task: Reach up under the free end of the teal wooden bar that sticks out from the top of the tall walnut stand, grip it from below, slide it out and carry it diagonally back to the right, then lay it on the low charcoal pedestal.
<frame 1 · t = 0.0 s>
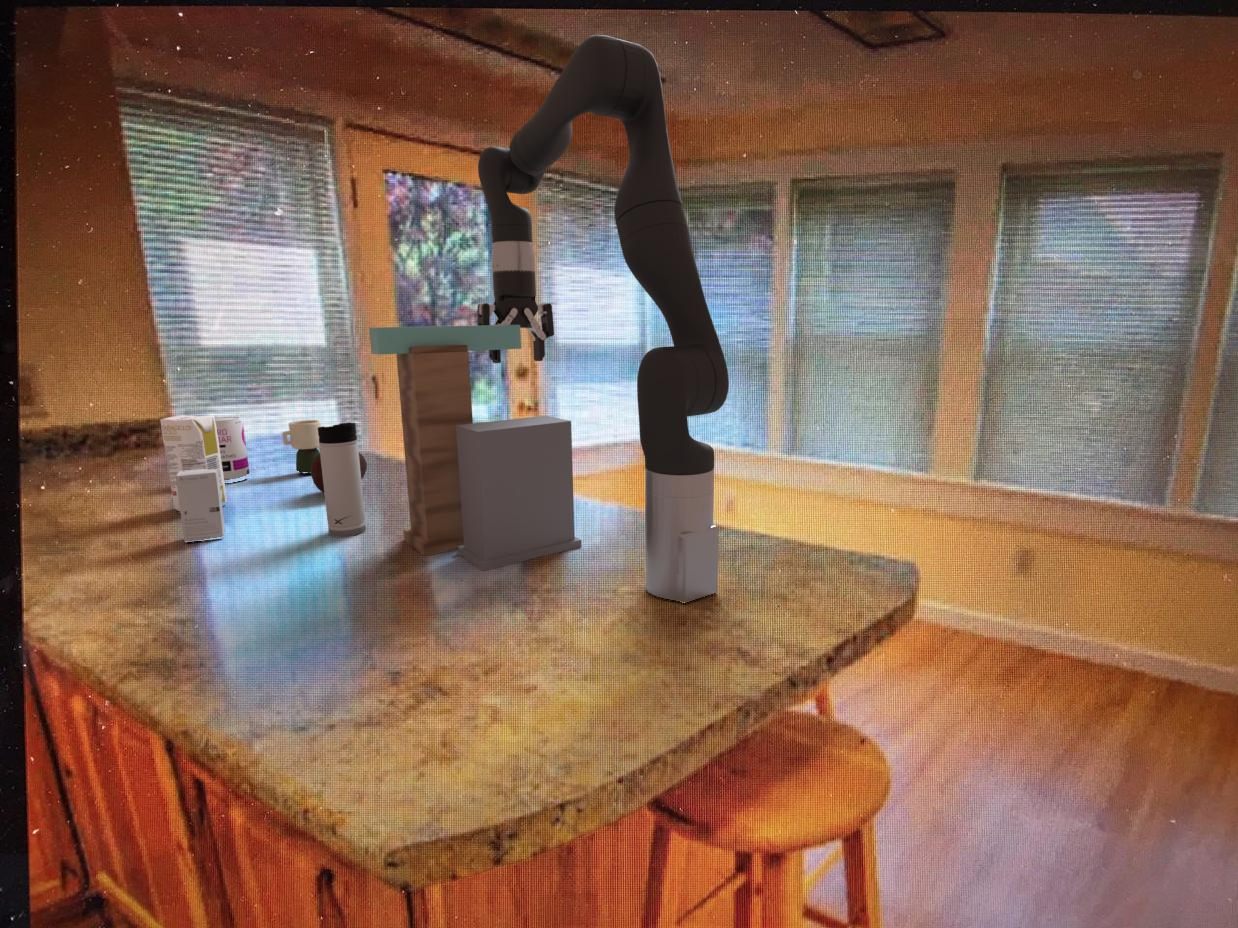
hand: (518, 362, 123), 29 cm above the countertop, tool pointing down, fingers open, 8 cm apart
supplement can: (231, 481, 162), on the countertop
travel mug: (348, 532, 121), on the countertop
skincare box: (206, 539, 118), on the countertop
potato: (340, 494, 148), on the countertop
charcoal pedestal: (520, 550, 110), on the countertop
juice carton: (201, 509, 137), on the countertop
walnut stand: (445, 541, 115), on the countertop
character mug: (310, 474, 168), on the countertop
teal bar: (449, 351, 110), point 32 cm above the countertop, touching walnut stand
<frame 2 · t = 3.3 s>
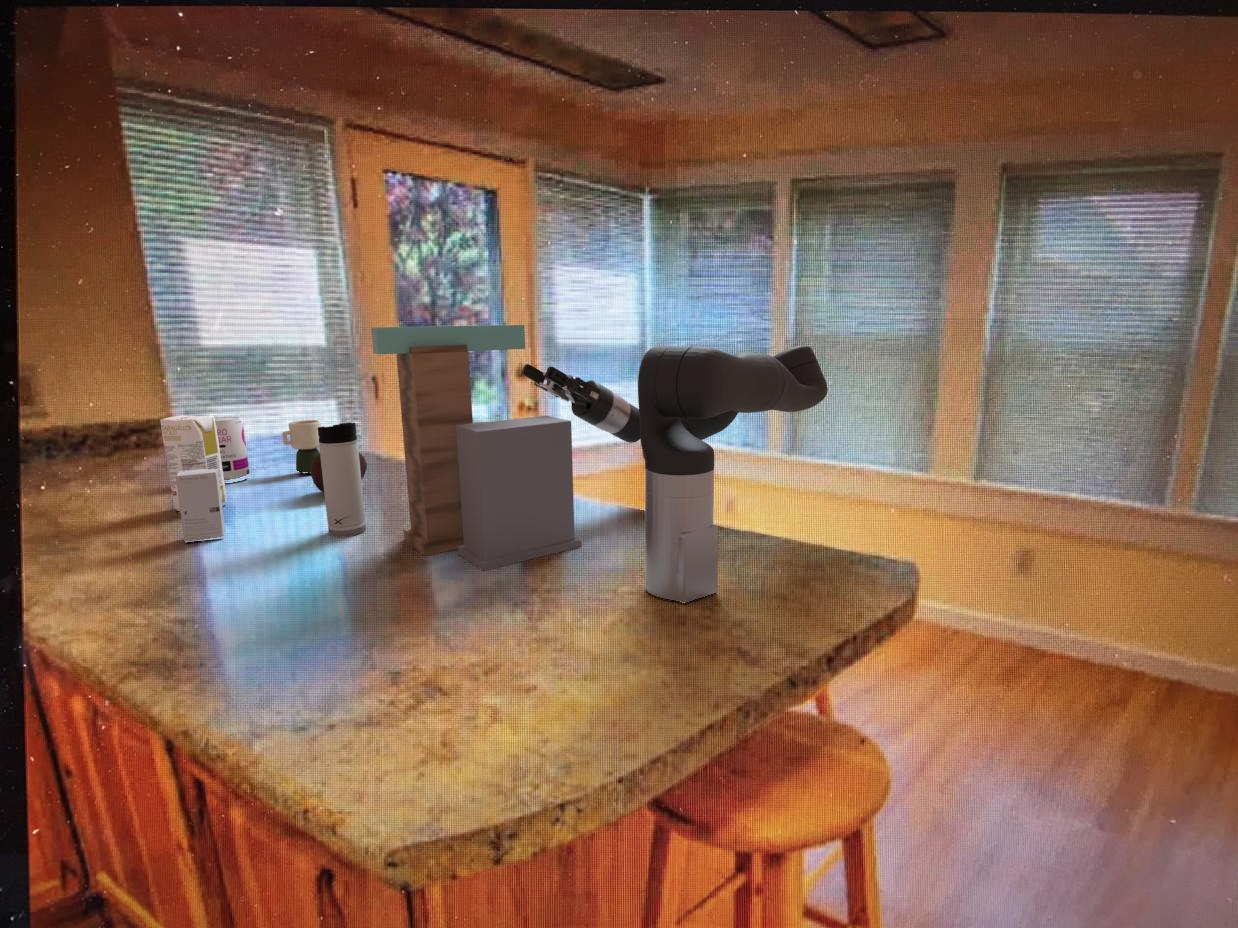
hand: (535, 369, 119), 28 cm above the countertop, tool pointing upward, fingers open, 8 cm apart
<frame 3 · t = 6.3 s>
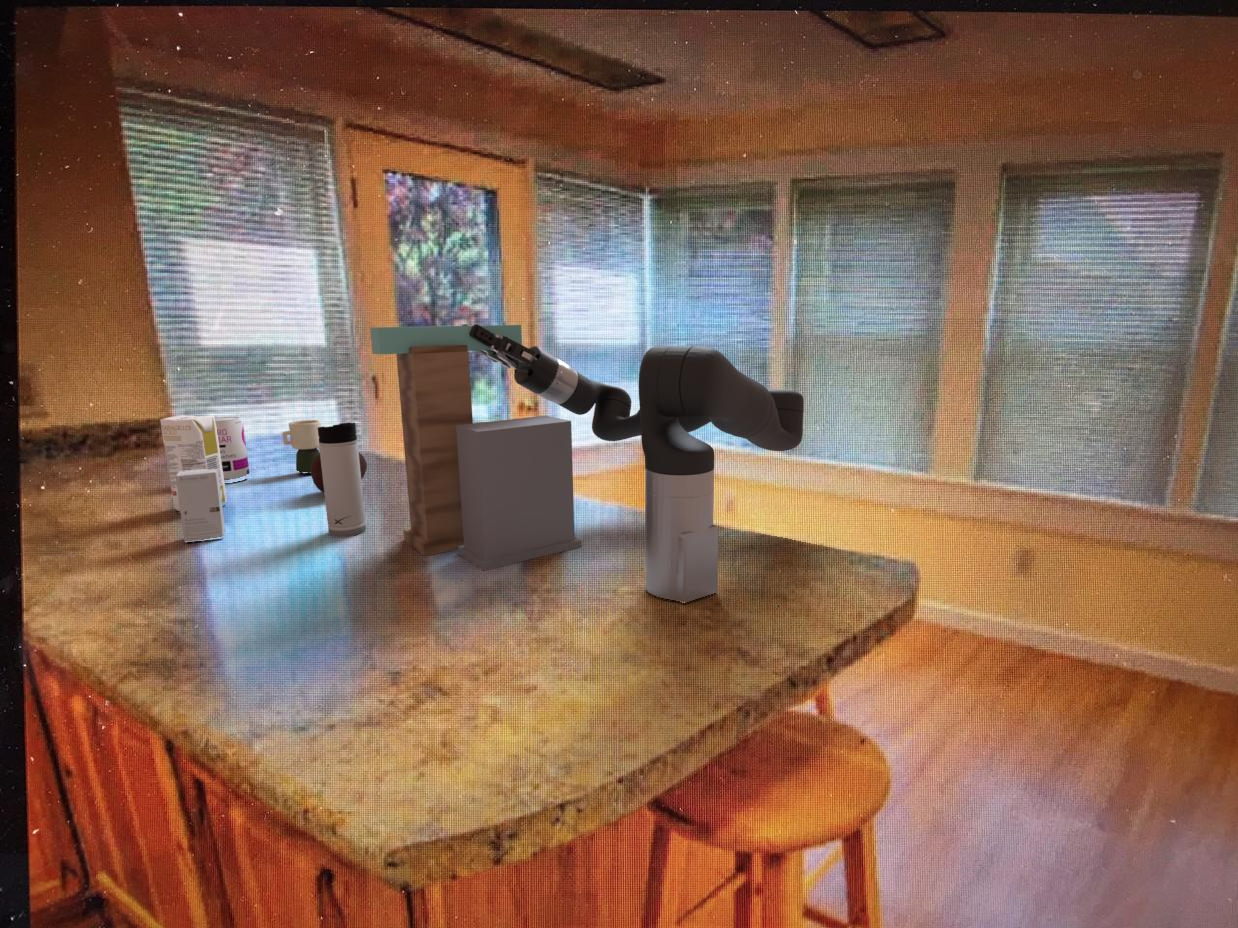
hand: (466, 329, 111), 35 cm above the countertop, tool pointing upward, fingers closed on teal bar, 4 cm apart
teal bar: (450, 351, 110), point 32 cm above the countertop, touching gripper
everything else where it was.
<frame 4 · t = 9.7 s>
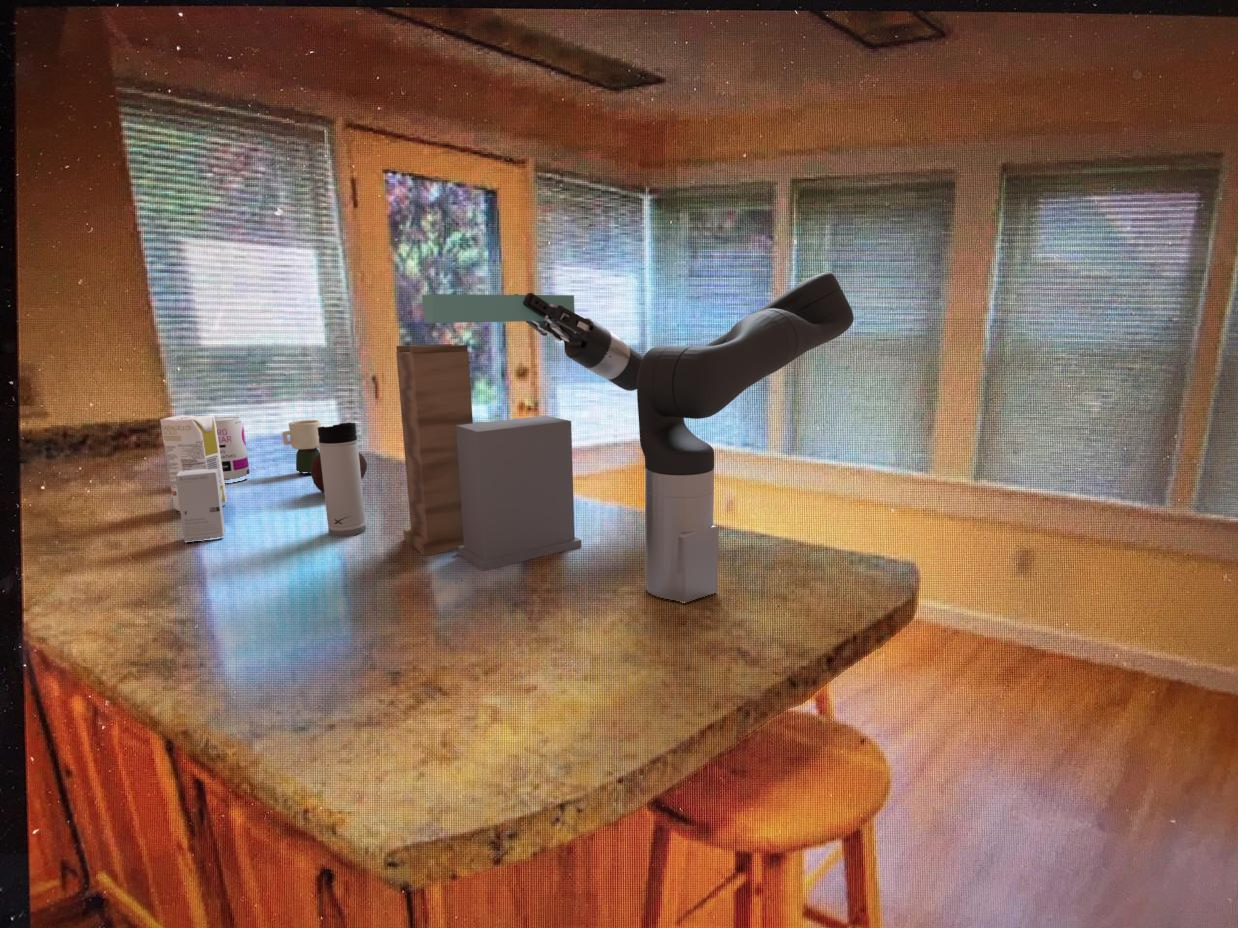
hand: (519, 298, 106), 40 cm above the countertop, tool pointing upward, fingers closed on teal bar, 4 cm apart
teal bar: (503, 321, 105), point 37 cm above the countertop, touching gripper
everything else where it was.
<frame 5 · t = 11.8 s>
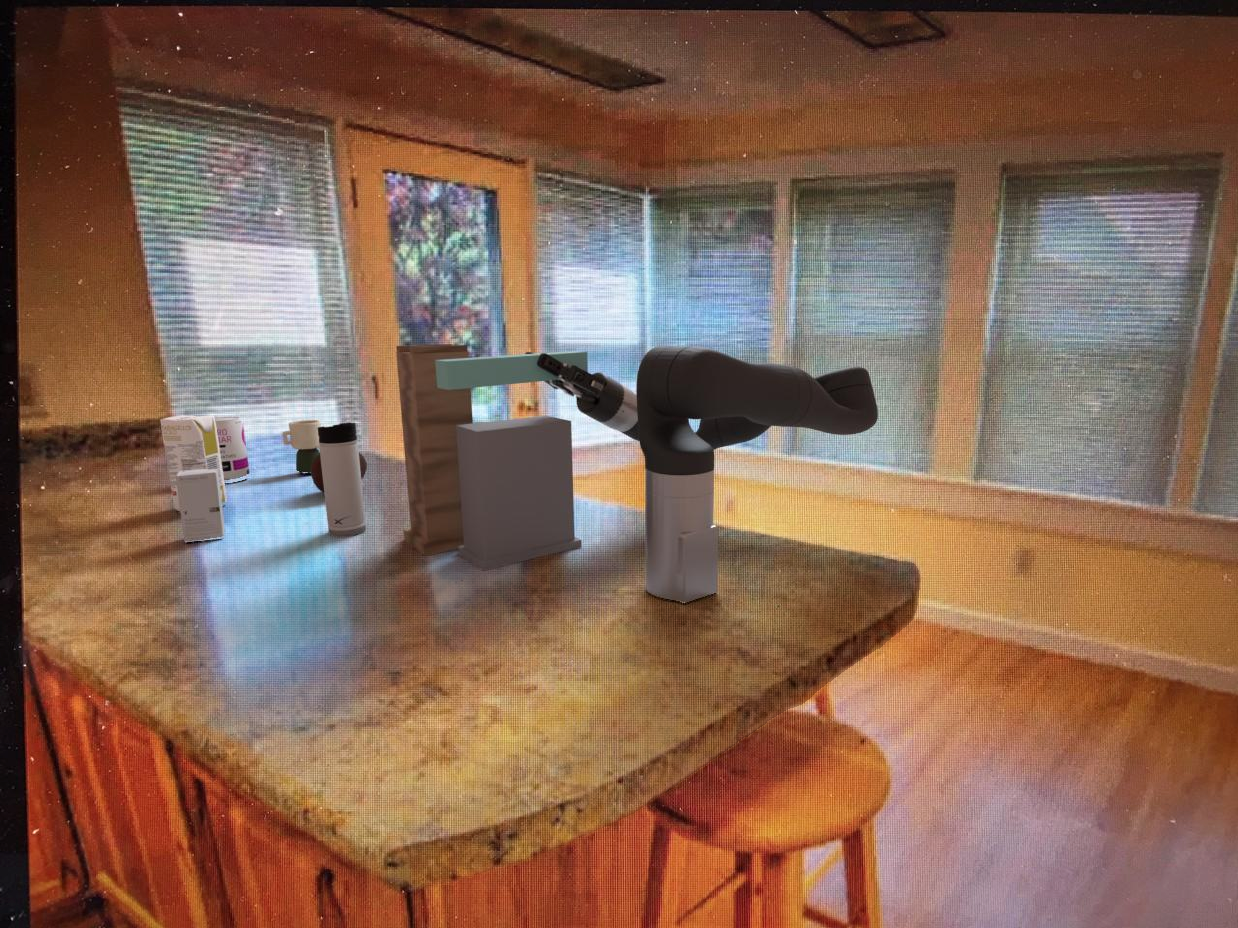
hand: (532, 358, 104), 31 cm above the countertop, tool pointing upward, fingers closed on teal bar, 4 cm apart
teal bar: (516, 382, 103), point 27 cm above the countertop, touching gripper
everything else where it was.
when the fingers open (26 cm above the countertop, at t = 13.1 s): teal bar drops 2 cm, resting on charcoal pedestal.
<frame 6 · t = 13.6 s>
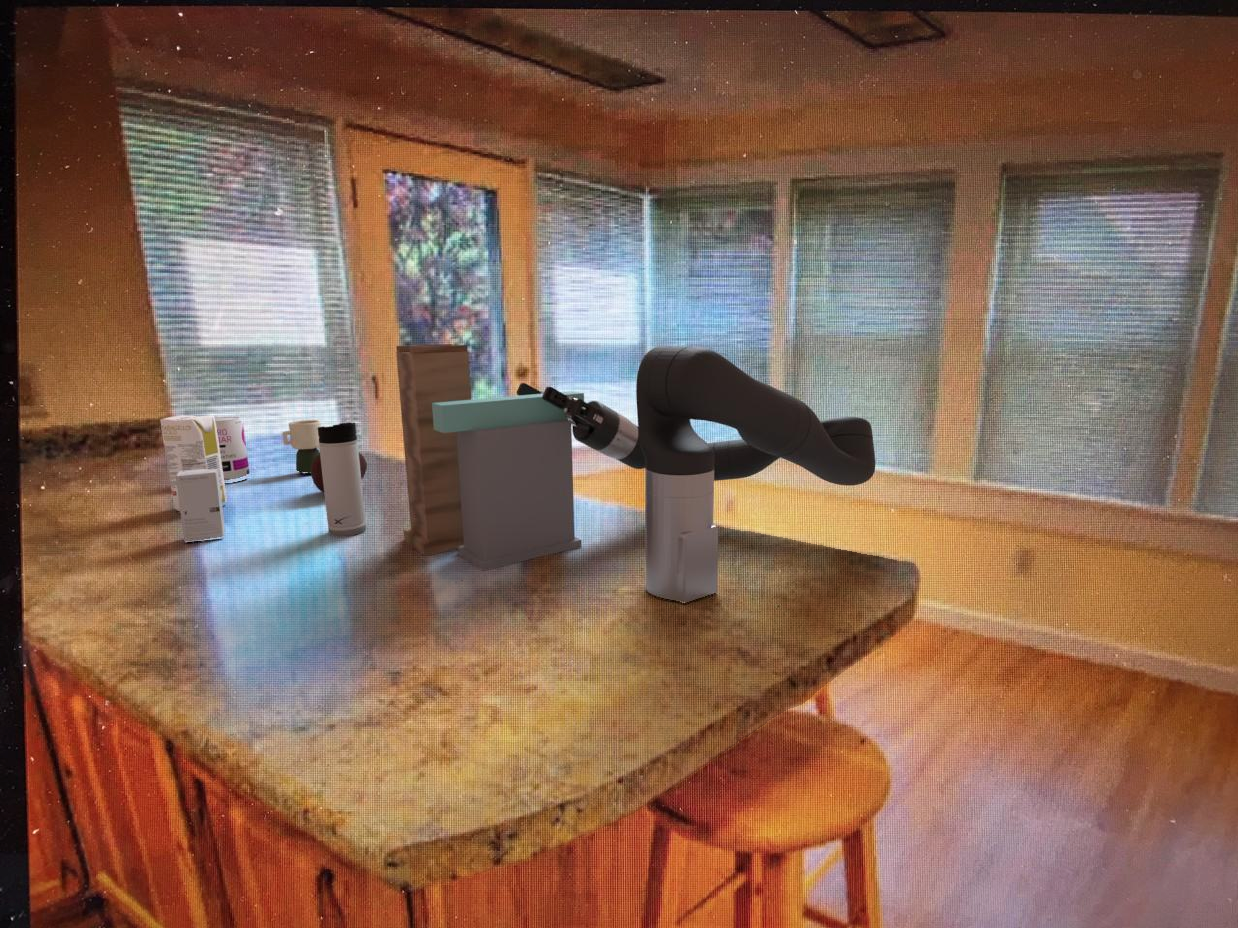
hand: (531, 390, 106), 26 cm above the countertop, tool pointing upward, fingers open, 8 cm apart
teal bar: (512, 423, 105), point 21 cm above the countertop, touching charcoal pedestal
everything else where it was.
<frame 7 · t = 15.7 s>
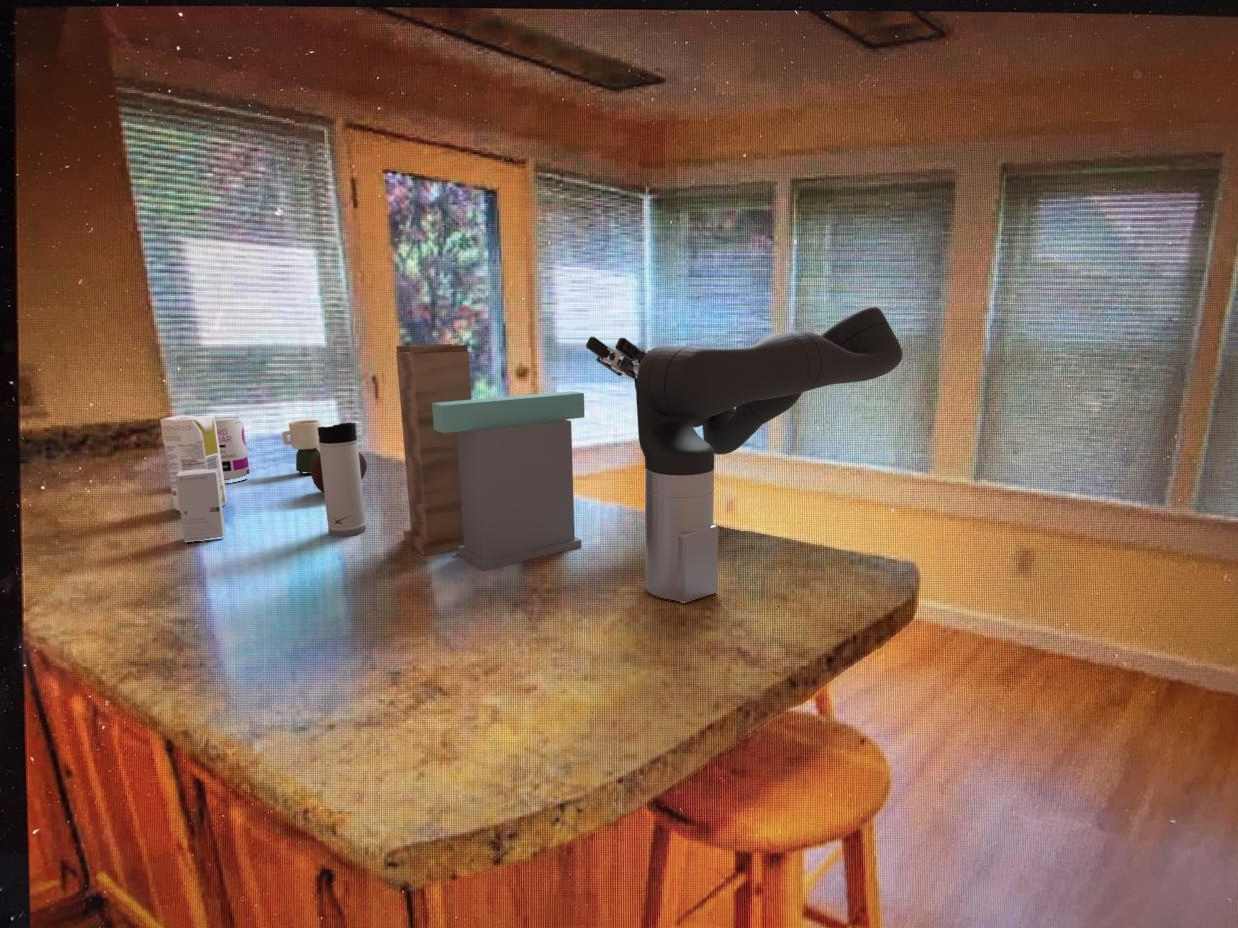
hand: (603, 341, 111), 33 cm above the countertop, tool pointing upward, fingers open, 8 cm apart
nothing on the countertop moved.
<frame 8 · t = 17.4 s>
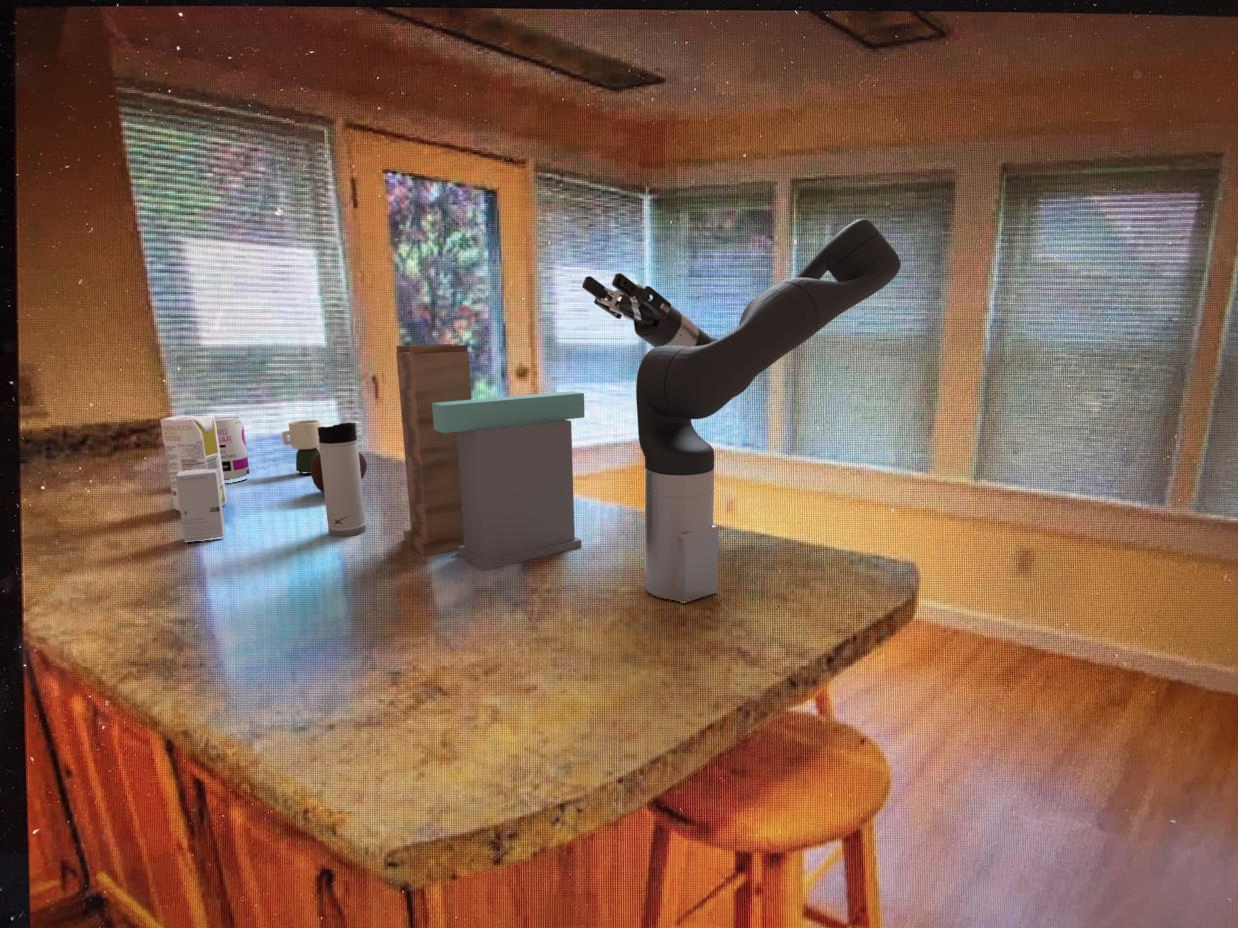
hand: (599, 279, 108), 43 cm above the countertop, tool pointing upward, fingers open, 8 cm apart
nothing on the countertop moved.
at the end: teal bar inside the target area (0.2 cm from its centre), point 21.0 cm above the countertop; the gripper is holding nothing; teal bar moved 17.0 cm from its start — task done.
